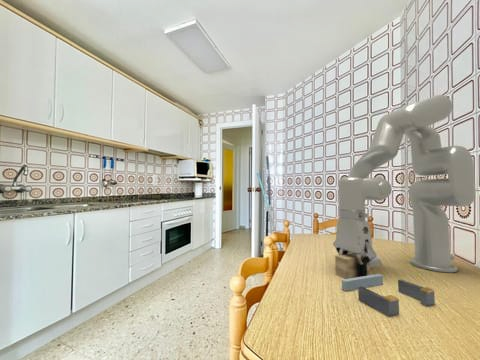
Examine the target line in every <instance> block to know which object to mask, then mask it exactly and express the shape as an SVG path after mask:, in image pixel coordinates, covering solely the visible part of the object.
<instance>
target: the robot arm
mask: <svg viewBox="0 0 480 360" xmlns="http://www.w3.org/2000/svg"><path fill="white" fill-rule="evenodd" d="M452 111H453V103H452V100H451V99H450V98H449V97H448V96H446V95H443V94H436V95H434V96H431V97H428V98H426V99H423V100H420V101H416V102H414V103H411V104H409V105H406V106H402V107H401V108H398V109H396V110H393V111H391V112H388V113H386V114H384V115H383V116H381V118H380V119H379V121H378V123H377V126H376V128H375V130H374V134H373V138H372V140H371V142H370V145H369V147H368V150H366V152H365V153H364V154H362V156H361V157H360V158H359V159H358V160H357V161H356V162H355V163H354V165H353V166H352V167H351V169H350V170H349V173H348V175H347V177H342V178H340V179H339V180H338V219H337V223H336V233H335V234H336V235H335V240H334V242H333V243H332V245H333V246H334V248H335V249H336V252H337V254H338V255H346V254H348V252H349V251H350V252H353V253H356V255H357V258H358V261H359V263H358V264H357V276H358V277H362V276H367V264H368V263H369V262H370V261H371V260H372V259H373V258H375V257H378V256H377V253H376V252H375V250H374V248H373V240H372V239H373V238H372V231H371V227H370V223H369V221H368V220H366V219H367V218H369V214H368V213H366V201H382V200H385V199H387V198H388V197H389V196H390V195H391V194H392V191H393V190H392V189H393V188H392V186H391V183H390V181H388V180H386V179H385V178H382V177H378V176H377V177H376V176H375V177H369V175H370V174H371V173H372V172H374V171H375V170H376V169H377V168H379V167H381V166H383V165H385V164H386V163H388V162H390V161H392V160H393V159H395V158H396V157H397V155H398V153H399V150H400V146H401V143H402V140H403V137H404V135H405V136H406V137H407V139H408V140H409V144H410V157H411V167H412V170H413V173H414V174H415V175H417V176H420V177H421V176H423V177H428V176H429V177H431V176H444V175H447V178H431V179H420V180H417V181H414V182H412V183H411V184H410V185H409V186H408V187H409V188H408V197H409V200H410V203H411V207H412V209H411V210H412V220H413V238H414V239H413V241H414V242H413V243H414V257H413V258H410V259H409V262H410V264H411V265H413V266H415V267H417V268H421V269H425V270H430V271H433V272H440V273H456V272H458V267H457V266H456V265H454V264H452V261H453V260H455V259H456V257H455V256H454V255H453V254H451V246H450V245H451V244H450V242H451V241H450V240H451V239H450V227H449V225H450V223H449V218H448V215H447V213H446V211H444V210H443V209H442V208H441V207H467V206H470V205H471V204H473V202H475V199H476V194H477V192H476V190H477V189H476V179H475V167H474V159H473V156H472V154H471V152H470V150H468V148H466V147H464V146H461V145H450V146H444V147H442V142H441V136H440V135H441V134H440V133H439V132H438V131H437V130H436V129H434V128H433V127H431V126H432V125H434V124H436V123H439V122H441V121H443V120H445V119H447V118H448V117H449V116H450V115H451V113H452ZM372 248H373V249H372ZM366 253H368V255H367V254H366ZM361 255H362V256H363V259H362V256H361Z"/></svg>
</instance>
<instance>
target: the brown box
mask: <svg viewBox="0 0 480 360" xmlns="http://www.w3.org/2000/svg"><path fill="white" fill-rule="evenodd" d="M361 256H362V255H361ZM334 257H335V259H334V261H335V265H334V266H335V267H334V268H335V276H338V277H339V278H342V279H343V280H344V279H350V278H356V277H358V276H357V264H358V263H359V261H358V258H357V255H356V253H353V254H346V255H339V254H337V255H335V256H334ZM362 259H363V256H362ZM370 269H371V267H370V262H369V263H368V264H367V276H368V275H371V270H370Z"/></svg>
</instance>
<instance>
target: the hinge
mask: <svg viewBox="0 0 480 360" xmlns="http://www.w3.org/2000/svg"><path fill="white" fill-rule="evenodd" d="M372 249H373V250H374V248H373V247H372ZM348 254H353V252H350V251H349V252H348ZM366 254H367V255H368V253H366ZM382 264H383V262H382V260H381V258H380V257H378V256H376V257H375V258H373V259H372V260H371V261H370V268H374V267H377V266H381V265H382Z"/></svg>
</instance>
